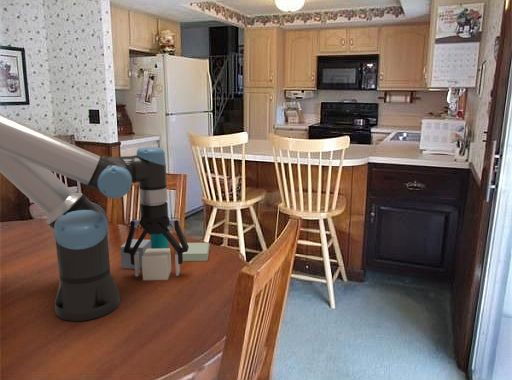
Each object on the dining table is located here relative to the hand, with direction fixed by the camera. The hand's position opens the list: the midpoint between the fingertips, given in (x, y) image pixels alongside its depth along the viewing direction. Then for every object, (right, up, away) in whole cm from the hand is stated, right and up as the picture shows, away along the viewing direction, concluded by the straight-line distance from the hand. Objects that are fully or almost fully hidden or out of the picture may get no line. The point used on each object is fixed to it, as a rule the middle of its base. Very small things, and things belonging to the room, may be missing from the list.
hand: (157, 274), depth 124 cm
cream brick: (0, 0, 0) cm, 0 cm away
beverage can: (-3, +3, +16) cm, 16 cm away
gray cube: (-8, +2, +8) cm, 11 cm away
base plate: (+8, +3, +15) cm, 17 cm away
